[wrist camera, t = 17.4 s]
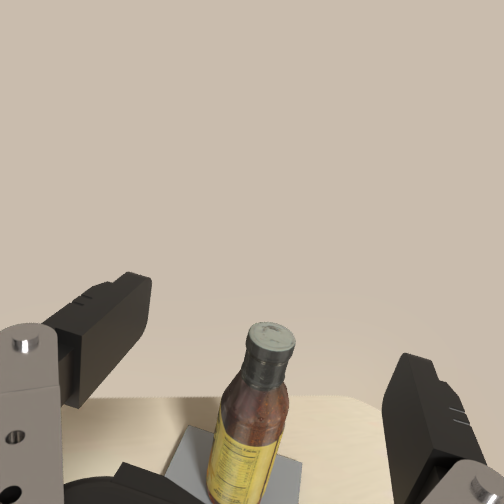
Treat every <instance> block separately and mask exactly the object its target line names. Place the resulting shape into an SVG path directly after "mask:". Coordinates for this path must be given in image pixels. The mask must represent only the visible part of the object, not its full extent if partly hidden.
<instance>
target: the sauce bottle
mask: <svg viewBox="0 0 504 504" xmlns="http://www.w3.org/2000/svg"><path fill="white" fill-rule="evenodd" d="M295 342H296V341H295V338H294V336H293V333H292V332H291V331H290V330H288V329H287V328H286V327H284V326H282V325H279V324H277V323H271V322H260V323H256V324H254V325H253V326H252V327H251V328H250V329H249V332H248V335H247V339H246V348H247V349H246V354H245V358H244V362H243V364H242V367H241V370H240V371H239V373H238V374H237V375H236V376H235V378H234V379H233V380H232V382H231V383H230V384H229V386H228V387H227V388H226V390H225V391H224V393H223V395H222V399H221V403H220V408H219V414H218V419H217V423H216V428H215V433H214V437H213V443H212V448H211V453H210V458H209V463H208V468H207V474H206V486H207V492H208V495H209V497H210V500H211V502H212V503H213V504H260V502H261V499H262V497H263V495H264V493H265V491H266V488H267V484H268V481H269V478H270V475H271V471H272V468H273V465H274V461H275V458H276V454H277V451H278V448H279V444H280V441H281V438H282V434H283V431H284V427H285V420H286V416H287V413H288V409H289V398H288V393H287V388H286V385H285V384H284V382H283V381H284V378H285V370H286V367H287V364H288V360H289V359H290V357H291V356H292V354H293V350H294V347H295Z"/></svg>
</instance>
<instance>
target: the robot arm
mask: <svg viewBox="0 0 504 504" xmlns="http://www.w3.org/2000/svg"><path fill="white" fill-rule="evenodd" d="M151 287H152V280H151V278H149V277H145V276H142V275H138V274H135V273H132V272H126V273H125V274H123V275H122V276H121V277H119V278H118V279H117V280H116V281H115V282H113V283H111V282H104V283H101V284H98V285H96V286H92V287H91V288H90V289H88V290H87V291H85V292H84V293H83V294H81V296H78V297H77V298H76V299H74V300H73V301H72V303H69V304H67V305H66V306H65V307H63V308H62V309H60V310H59V311H58V312H56V313H55V314H54V315H52V316H51V317H49V318H48V319H47V320H46V321H44V322H43V323H41V324H38V323H23V324H17V325H13V326H10V327H8V328H5V329H3V330H2V331H0V504H205V503H204V502H202V501H201V500H199V499H198V498H196V497H195V496H193V495H192V494H190V493H189V492H188V491H186V490H185V489H183V488H182V487H180V486H179V485H177V484H176V483H174V482H173V481H171V480H170V479H168V478H167V477H165V476H162V475H159V474H156V473H153V472H150V471H148V470H145V469H142V468H139V467H136V466H133V465H131V464H128V463H125V462H122V464H121V466H120V467H119V469H118V471H117V472H116V474H115V475H114V477H111V476H101V477H90V478H84V479H80V480H76V481H72V482H69V483H66V484H63V459H62V430H61V406H62V405H63V404H65V405H68V406H71V407H74V408H77V409H79V408H80V407H81V406H82V405H83V404H84V402H85V401H86V400H87V399H88V398H89V397H90V395H91V394H92V393H93V392H94V391H95V390H96V388H97V387H98V386H99V385H100V384H101V383H102V381H103V380H104V379H105V378H106V377H107V376H108V374H109V373H110V372H111V371H112V370H113V369H114V368H115V367H116V365H117V364H118V363H119V362H120V361H121V360H122V358H123V357H124V356H125V355H126V354H127V353H128V351H129V350H130V349H131V348H132V347H133V346H134V344H135V343H136V342H137V341H138V340H139V339H140V337H141V336H142V334H143V332H144V330H145V327H146V324H147V320H148V313H149V304H150V296H151ZM464 412H465V410H464V408H463V406H462V403H461V401H460V398H459V396H458V395H457V394H456V393H455V392H454V391H453V389H452V388H451V387H450V386H449V385H448V384H447V382H443V381H440V380H439V379H438V377H437V374H436V371H435V368H434V365H433V363H432V361H431V360H428V359H425V358H422V357H418V356H415V355H411V354H408V353H403V354H402V356H401V357H400V359H399V362H398V364H397V366H396V368H395V371H394V373H393V375H392V378H391V380H390V382H389V385H388V387H387V389H386V392H385V394H384V398H383V403H382V419H383V426H384V433H385V441H386V448H387V455H388V462H389V469H390V476H391V484H392V491H393V498H394V504H504V477H503V476H501V475H500V474H499V473H498V472H496V471H495V470H493V469H492V468H490V467H488V466H487V464H486V461H485V459H484V456H483V454H482V451H481V449H480V446H479V444H478V442H477V439H476V437H475V434H474V432H473V430H472V427H471V426H469V425H470V422H469V420H468V418H467V415H466V414H465V413H464Z"/></svg>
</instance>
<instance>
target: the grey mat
mask: <svg viewBox="0 0 504 504" xmlns="http://www.w3.org/2000/svg"><path fill="white" fill-rule="evenodd" d="M213 437H214V433H211V432H208V431H205V430H202V429H199V428H196V427H193V426H190V425H188V427H187V429H186V431H185V433H184V436H183V438H182V440H181V442H180V444H179V446H178V448H177V450H176V452H175V455H174V457H173V459H172V461H171V463H170V465H169V467H168V469H167V471H166V473H165V477H167V478H168V479H170V480H171V481H173V482H174V483H176V484H177V485H179V486H180V487H182V488H183V489H185V490H186V491H188V492H189V493H190V494H192V495H193V496H195V497H196V498H198V499H199V500H201V501H202V502H204V503H205V504H213V503H212V502H211V500H210V497H209V495H208V492H207V486H206V474H207V468H208V463H209V458H210V453H211V448H212V443H213ZM301 472H302V463H301V462H298V461H295V460H292V459H289V458H286V457H283V456H280V455H277V454H276V458H275V461H274V465H273V468H272V471H271V475H270V478H269V481H268V484H267V488H266V491H265V493H264V495H263V497H262V499H261V502H260V504H298V501H299V491H300V481H301Z"/></svg>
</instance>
